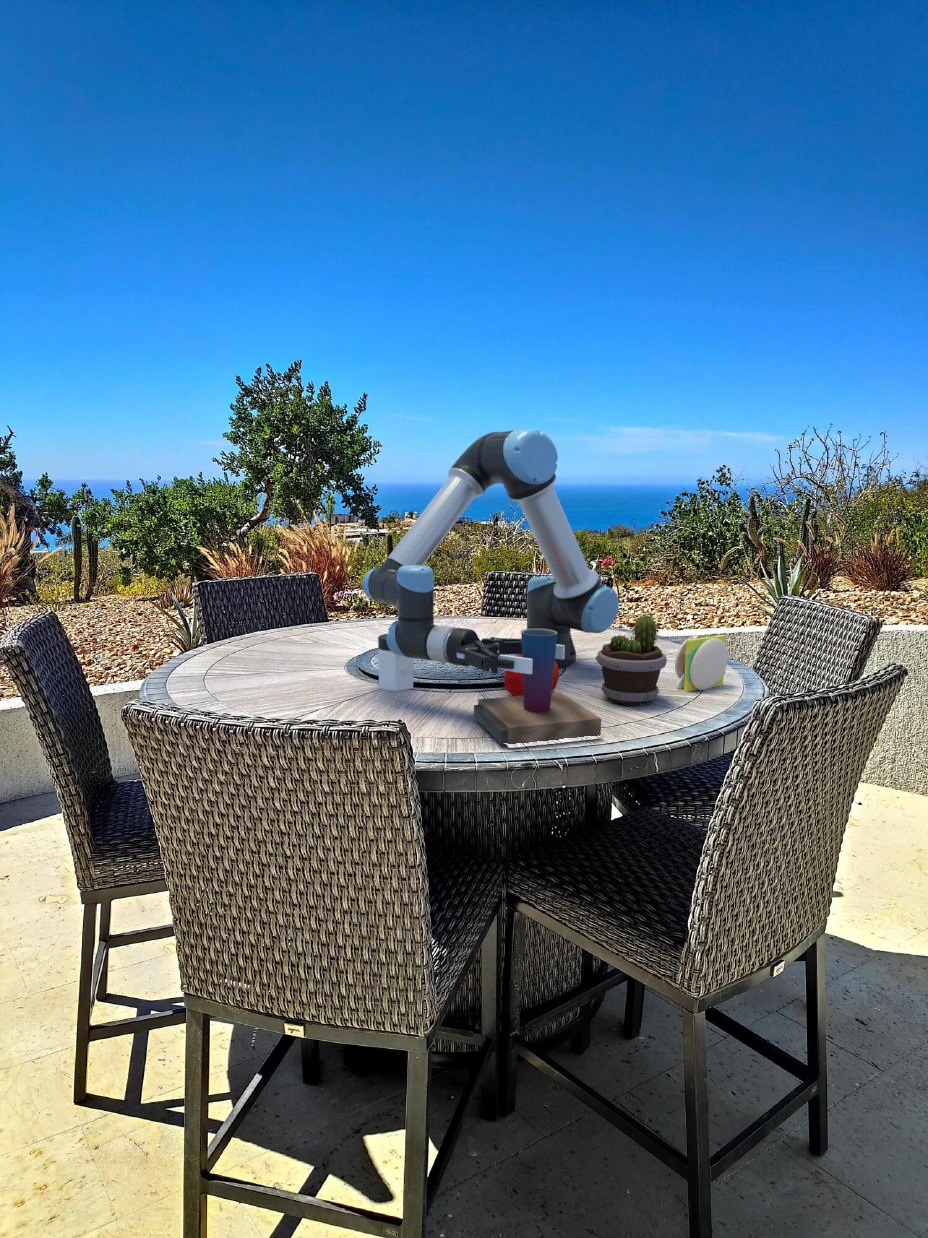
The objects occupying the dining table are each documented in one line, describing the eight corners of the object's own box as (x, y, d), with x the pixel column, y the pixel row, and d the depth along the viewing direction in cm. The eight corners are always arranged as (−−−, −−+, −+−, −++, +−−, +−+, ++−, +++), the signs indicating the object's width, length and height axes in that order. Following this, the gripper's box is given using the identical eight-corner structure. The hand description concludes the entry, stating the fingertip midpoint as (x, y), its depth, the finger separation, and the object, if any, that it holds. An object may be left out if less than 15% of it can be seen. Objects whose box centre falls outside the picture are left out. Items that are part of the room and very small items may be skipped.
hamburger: (702, 679, 174) (705, 631, 172) (730, 687, 167) (734, 637, 165) (666, 685, 168) (669, 635, 166) (693, 694, 161) (697, 642, 159)
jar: (387, 693, 161) (386, 641, 159) (371, 685, 168) (370, 635, 166) (421, 687, 166) (421, 637, 164) (404, 680, 173) (404, 631, 171)
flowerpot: (615, 712, 148) (619, 617, 144) (584, 692, 162) (587, 605, 159) (678, 707, 152) (683, 614, 148) (641, 688, 166) (645, 603, 163)
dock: (560, 710, 149) (560, 692, 148) (600, 739, 132) (601, 718, 131) (472, 719, 144) (472, 699, 143) (502, 749, 127) (503, 728, 126)
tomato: (495, 693, 162) (495, 649, 160) (545, 688, 166) (546, 645, 164) (515, 707, 151) (516, 660, 150) (568, 701, 156) (570, 655, 154)
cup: (516, 703, 140) (518, 628, 138) (550, 702, 141) (553, 628, 138) (522, 714, 134) (524, 635, 131) (558, 713, 134) (561, 635, 131)
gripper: (486, 652, 157) (575, 665, 145) (418, 676, 136) (516, 694, 125) (486, 618, 155) (576, 629, 144) (417, 638, 135) (516, 652, 123)
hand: (548, 659), depth 134 cm, fingers open, 13 cm apart
